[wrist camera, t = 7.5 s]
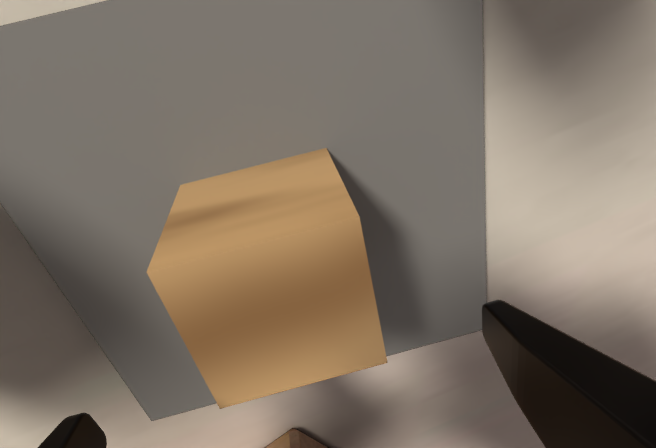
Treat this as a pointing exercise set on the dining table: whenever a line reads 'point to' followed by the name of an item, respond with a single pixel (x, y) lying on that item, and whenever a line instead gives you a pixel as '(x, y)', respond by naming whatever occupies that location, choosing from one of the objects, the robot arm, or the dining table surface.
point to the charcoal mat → (244, 152)
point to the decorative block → (295, 441)
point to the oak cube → (269, 278)
